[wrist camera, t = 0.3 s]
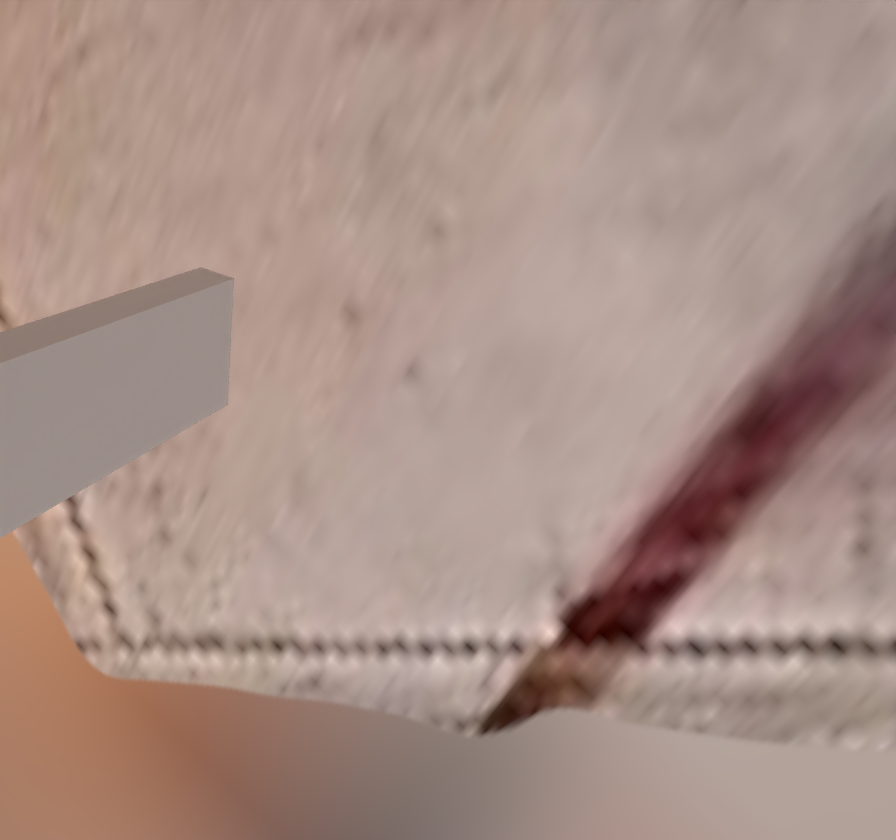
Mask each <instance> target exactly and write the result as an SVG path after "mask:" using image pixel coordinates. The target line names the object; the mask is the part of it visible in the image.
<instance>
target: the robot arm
mask: <svg viewBox="0 0 896 840" xmlns="http://www.w3.org/2000/svg"><path fill="white" fill-rule="evenodd" d="M233 288H234V278H231V277H228V276H225V275H222V274H219V273H216V272H213V271H210V270H207V269H204V268H198V269H195V270H192V271H189V272H185V273H182V274H179V275H176V276H173V277H170V278H167V279H164V280H161V281H158V282H155V283H151V284H148V285H145V286H142V287H139V288H136V289H133V290H130V291H127V292H124V293H121V294H117V295H114V296H111V297H108V298H105V299H102V300H99V301H96V302H93V303H90V304H87V305H84V306H80V307H77V308H74V309H71V310H68V311H65V312H62V313H59V314H56V315H53V316H50V317H46V318H43V319H40V320H37V321H34V322H31V323H28V324H25V325H22V326H19V327H16V328H13V329H9V330H6V331H3V332H0V538H1V537H3V536H4V535H6V534H8V533H10V532H11V531H13V530H15V529H16V528H18V527H20V526H21V525H23V524H25V523H27V522H28V521H30V520H32V519H33V518H35V517H37V516H39V515H40V514H42V513H44V512H45V511H47V510H49V509H50V508H52V507H54V506H56V505H57V504H59V503H61V502H62V501H64V500H66V499H68V498H69V497H71V496H73V495H74V494H76V493H78V492H79V491H81V490H83V489H85V488H86V487H88V486H90V485H91V484H93V483H95V482H97V481H98V480H100V479H102V478H103V477H105V476H107V475H108V474H110V473H112V472H114V471H115V470H117V469H119V468H120V467H122V466H124V465H125V464H127V463H129V462H131V461H132V460H134V459H136V458H137V457H139V456H141V455H143V454H144V453H146V452H148V451H149V450H151V449H153V448H154V447H156V446H158V445H160V444H161V443H163V442H165V441H166V440H168V439H170V438H172V437H173V436H175V435H177V434H178V433H180V432H182V431H183V430H185V429H187V428H189V427H190V426H192V425H194V424H195V423H197V422H199V421H201V420H202V419H204V418H206V417H207V416H209V415H211V414H212V413H214V412H216V411H218V410H219V409H221V408H223V407H224V406H226V405H228V386H229V367H230V347H231V327H232V308H233Z"/></svg>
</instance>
